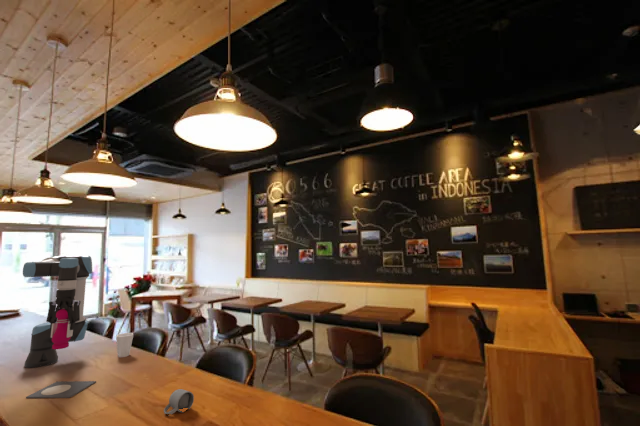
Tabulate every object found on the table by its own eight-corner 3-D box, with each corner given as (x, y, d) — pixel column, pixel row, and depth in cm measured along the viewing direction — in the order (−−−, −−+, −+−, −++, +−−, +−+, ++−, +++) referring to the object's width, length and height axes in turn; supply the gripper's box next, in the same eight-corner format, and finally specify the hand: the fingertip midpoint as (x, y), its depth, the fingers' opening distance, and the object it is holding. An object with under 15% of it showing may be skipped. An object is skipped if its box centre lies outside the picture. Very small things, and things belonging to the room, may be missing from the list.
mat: (25, 398, 142) (26, 396, 142) (56, 382, 159) (56, 381, 159) (70, 397, 142) (70, 396, 143) (95, 382, 159) (96, 380, 159)
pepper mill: (73, 346, 154) (77, 304, 156) (57, 350, 147) (61, 307, 149) (63, 344, 156) (67, 303, 159) (47, 349, 149) (51, 306, 152)
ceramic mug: (183, 402, 138) (183, 384, 139) (194, 408, 133) (194, 389, 134) (159, 413, 129) (160, 393, 130) (170, 419, 125) (170, 399, 125)
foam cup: (135, 353, 204) (136, 333, 206) (125, 358, 195) (126, 336, 197) (121, 353, 205) (123, 332, 207) (111, 357, 196) (112, 336, 198)
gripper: (39, 290, 151) (34, 339, 148) (80, 289, 152) (76, 338, 149) (52, 288, 159) (47, 335, 156) (91, 288, 159) (87, 334, 156)
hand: (61, 336), depth 152 cm, fingers closed on pepper mill, 7 cm apart
